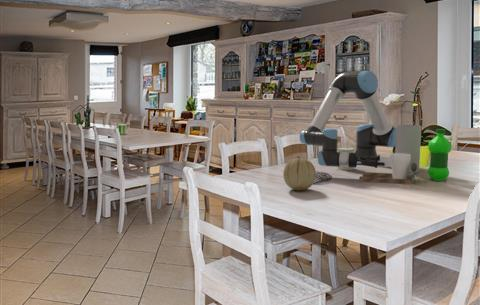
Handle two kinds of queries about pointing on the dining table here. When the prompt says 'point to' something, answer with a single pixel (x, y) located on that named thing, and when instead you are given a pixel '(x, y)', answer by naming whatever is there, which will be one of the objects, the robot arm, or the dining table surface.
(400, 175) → the foam cup
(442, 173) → the plastic bottle
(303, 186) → the cantaloupe
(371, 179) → the wooden tray
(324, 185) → the dining table surface
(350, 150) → the can
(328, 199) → the dining table surface
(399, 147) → the cylinder vase
